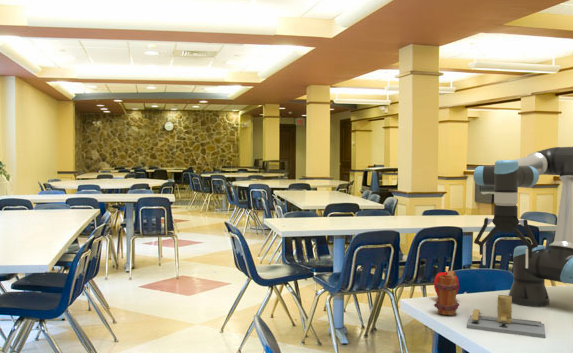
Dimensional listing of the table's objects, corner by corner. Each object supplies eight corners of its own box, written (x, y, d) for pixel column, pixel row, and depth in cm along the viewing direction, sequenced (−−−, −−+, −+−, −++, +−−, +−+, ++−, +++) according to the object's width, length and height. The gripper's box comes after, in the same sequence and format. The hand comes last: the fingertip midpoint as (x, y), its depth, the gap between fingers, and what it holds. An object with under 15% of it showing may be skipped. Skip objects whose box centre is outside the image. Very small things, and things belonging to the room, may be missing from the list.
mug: (454, 318, 190) (454, 277, 190) (432, 315, 195) (432, 274, 194) (464, 309, 203) (464, 270, 203) (442, 306, 207) (443, 268, 207)
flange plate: (544, 327, 181) (544, 323, 181) (545, 338, 169) (545, 334, 169) (470, 318, 191) (470, 314, 191) (466, 328, 179) (466, 324, 179)
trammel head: (511, 320, 183) (511, 296, 183) (510, 327, 175) (511, 301, 175) (498, 318, 185) (498, 294, 185) (496, 325, 177) (496, 300, 177)
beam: (541, 325, 178) (541, 316, 178) (541, 331, 171) (541, 322, 171) (472, 317, 187) (472, 308, 187) (470, 323, 181) (470, 313, 181)
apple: (445, 296, 223) (445, 267, 223) (464, 301, 215) (464, 271, 215) (428, 299, 218) (429, 270, 218) (447, 304, 210) (447, 274, 210)
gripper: (545, 205, 180) (545, 267, 180) (468, 202, 190) (468, 261, 191) (546, 206, 173) (545, 271, 173) (466, 204, 184) (466, 264, 184)
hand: (505, 266), depth 182 cm, fingers open, 13 cm apart
